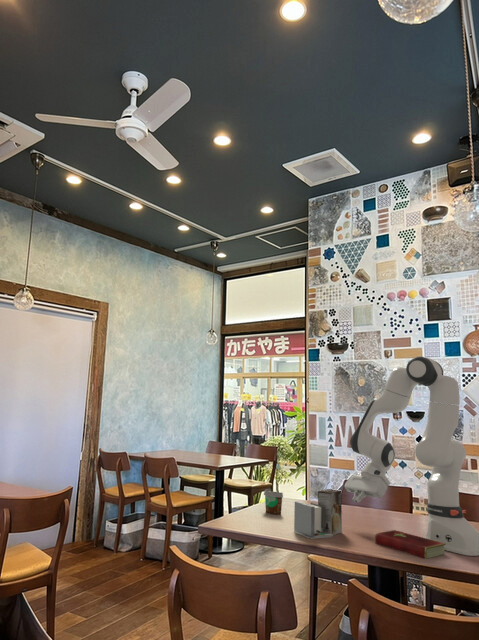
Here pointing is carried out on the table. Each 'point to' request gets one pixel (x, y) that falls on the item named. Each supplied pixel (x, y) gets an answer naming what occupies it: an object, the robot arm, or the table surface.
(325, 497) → the coffee box
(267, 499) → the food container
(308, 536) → the gauge housing
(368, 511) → the table surface
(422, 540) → the hardcover book
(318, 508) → the block
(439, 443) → the robot arm
